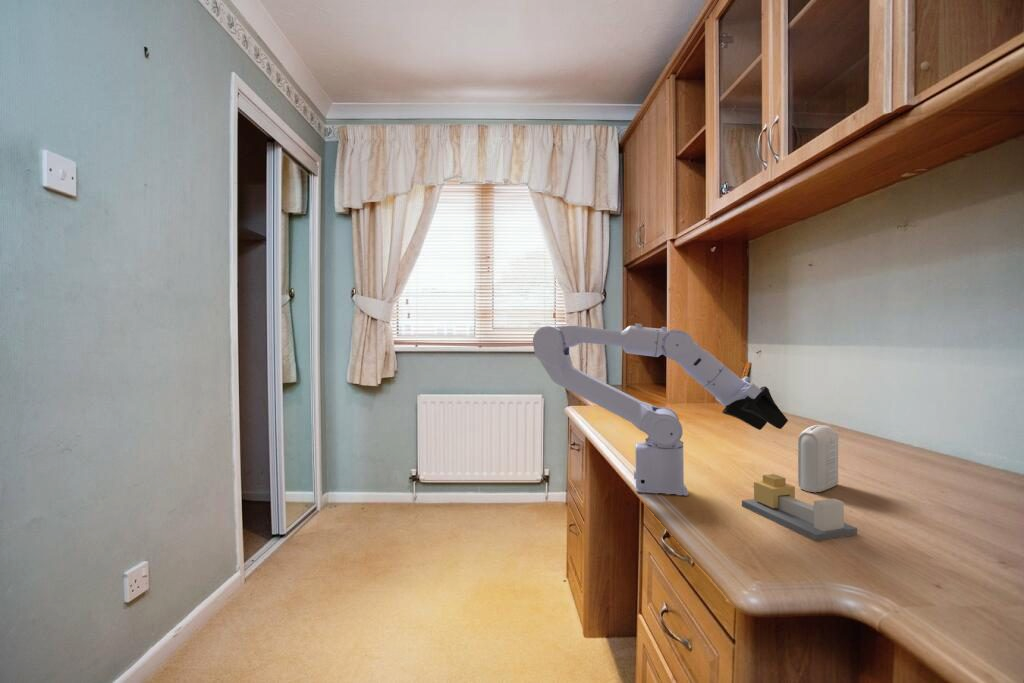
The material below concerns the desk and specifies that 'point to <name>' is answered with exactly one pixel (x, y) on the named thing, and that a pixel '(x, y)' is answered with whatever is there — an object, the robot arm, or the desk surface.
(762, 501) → the slider
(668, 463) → the robot arm
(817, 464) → the photo printer
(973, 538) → the desk surface
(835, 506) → the rail board
